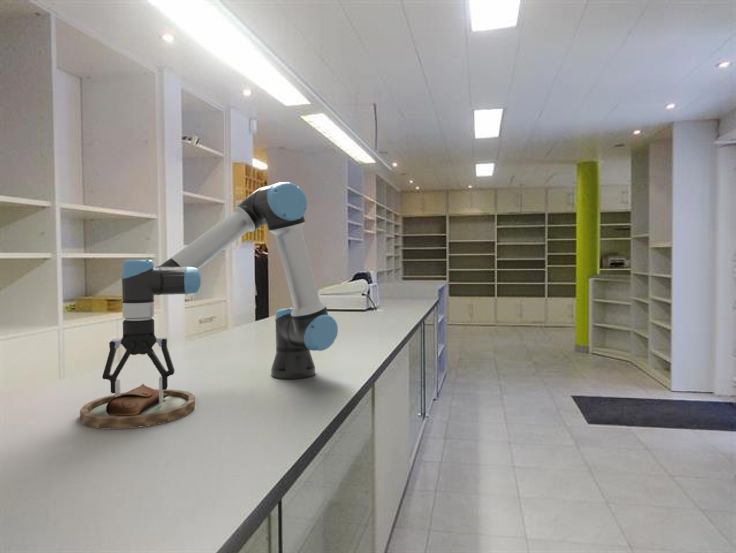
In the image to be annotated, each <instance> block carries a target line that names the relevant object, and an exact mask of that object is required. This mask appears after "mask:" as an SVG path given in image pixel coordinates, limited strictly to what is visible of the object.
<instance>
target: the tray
mask: <svg viewBox="0 0 736 553" xmlns="http://www.w3.org/2000/svg"><path fill="white" fill-rule="evenodd" d="M154 389H155V388H154ZM155 390H157V391H159V388H156V389H155ZM125 393H126V392H120V395H123V394H125ZM163 393H165V394H168V396H167V397H165V398H164V399H163V403H159V402H158V403H156V404H154V405H152V406H150V407H149V408H147V409H145V410H143V411H142V412H141V413H140V414H137V415H131V416H110V415H108V413H107V412H106V406H107V404H108V403H109V401H111V400H112V399H113V398H115V393H113V394H110V395H107V396H104V397H99V398H97V399H94V400H91V401H90V402H87V403H85V404H84V405H83V406H82V407H81V408H80V410H79V420H80V422H81V423H82V424H83V425H84V427H90V428H94V429H95V428H96V429H98V428H100V430H101V428H106V429H105V430H108V429H107V428H110V429H109V430H122V429H121V428H128V429H131V428H130V427H138V428H140V427H139V426H147V427H149V426H148V425H152V426H155V425H154V424H157V425H160V424H159V423H162V424H164V423H163V422H167V423H169V422H168V421H170V422H172V421H171V420H173V421H175V420H174V419H176V420H178V419H177V418H179V419H181V418H180V417H182V418H184V417H186V416H188V415H190V414H191V413H193V410H194V411H195V407H196V395H195V394H193V393H192V392H189V391H185V390H179V389H169V388H167V389H166V390H163ZM190 412H191V413H190ZM187 414H188V415H187ZM183 416H184V417H183ZM112 428H113V429H112Z"/></svg>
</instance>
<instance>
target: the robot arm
mask: <svg viewBox="0 0 736 553" xmlns="http://www.w3.org/2000/svg"><path fill="white" fill-rule="evenodd" d="M307 208H308V200H307V197H306V194H305V193H304V191H303V190H302V188H301V187H300V186H298V185H297V184H294V183H293V182H289V181H287V182H286V181H284V182H277V183H274V184H270V185H267V186H262V187H260V188H258V189H257V190H254V191H253V192H251V194H249V195H248V196H247V197H246V198H245V199H243V200H242V201H241V202H240V203H238V204H237V205H235V207H233V210H232V213H230V214H229V215H228V216H226V217H224V219H222V220H221V221H219V222H218V223H217V224H215V225H213V226H212V227H211V228H209V229H208V230H207V231H205V232H204V233H203V234H201V235H200V236H198V238H196V239H195V240H194V241H192V242H191V243H189V244H188V245H187V246H185V247H183V249H181V250H180V251H178V252H176V254H174V255H172V256H171V257H170V258H169V259H167V260H166V261H164V262H163V263H161V264H160V265H157V266H155V265H154V261H153V260H152V259H125V260H124V261H122V269H121V287H122V288H121V292H122V303H121V304H122V305H121V306H122V308H121V310H122V318H123V319H124V320H123V321H122V338H121V339H117V340H115V339H112V340H110V341H109V343H108V345H109V352H108V356H107V360H106V362H105V366H104V370H103V373H102V379H103V380H108V381H109V382H110V394H115V397H117V396H120V393H121V379H120V378H118V377H119V375H120V373H121V371H122V369H123V368H124V366H125V364H126V363H127V361H128V359H129V358H130V355H132V356H137V355H143V356H144V355H147V356H148V358H150V360H151V362H152V364H153V365H154V366H155V368H156V370H157V371H158V372H159V375H160V376H159V378H158V389H159V403H163V390H166V389H168V381H169V380H168V377H171V376H172V375H174V374H175V367H174V364H173V361H172V358H171V354H170V352H169V349H168V338H167V337H163V338H157V337H156V335H155V334H156V333H155V320H154V318H153V317H155V296H160V295H161V296H162V295H163V296H165V295H167V296H169V295H170V296H171V295H188V294H189V295H190V294H197V293H198V292H199V291H200V288H201V282H202V281H201V280H202V278H201V273H200V270H199V269H201V268H202V267H203V266H205V265H206V264H207V263H208V262H210V261H211V260H213V259H214V258H215V257H216V256H217V255H219V254H221V253H222V252H223V251H224V250H226V249H227V248H228V247H229V246H231V245H232V244H233V243H235V242H236V241H238V240H239V239H240V238H242V237H243V236H244V235H245V234H247V233H248V232H250V233H252V232H255V231H256V230H257V229H258V228H261V227H263V226H265V225H266V226H267V228H268V229H267V230H268V232H269V233H271V234H273V235H274V237H275V240H276V241H275V242H276V244H277V248H278V249H277V250H278V252H279V256H280V259H281V263H282V267H283V270H284V275H285V279H286V283H287V286H288V290H289V294H290V298H291V301H292V306H293V307H289V308H280V309H278V310H277V311H276V312H275V318H274V321H275V355H274V359H273V362H272V366H271V369H270V371H271V372H270V375H271V377H273V378H274V379H275V378H276V379H281V380H282V379H283V380H292V379H293V380H297V379H304V378H305V379H306V378H309V377H313V376H314V375H315V374H316V366H315V363H314V360H313V356H312V354H311V351H312V352H313V351H317V352H320V351H321V352H323V351H325V350H327V349H329V348H330V347H331V346H333V344H334V343H335V341H336V339H337V337H338V333H339V328H338V327H339V326H338V323H337V321H336V319H334V318H333V317H332V316H331V315H330V314H329V313H328V310H327V309H328V308H327V305H326V303H324V302H323V301H321V299H320V295H319V292H318V289H317V285H316V280H315V275H314V272H313V268H312V265H311V260H310V256H309V252H308V248H307V245H306V241H305V236H304V232H303V227H304V226H305V224H306V221H305V220H306V219H305V217H304V215H305V213H306V210H307ZM156 343H157V344H158V346H159V347H160V348H161V352H162V355H163V358H164V361H165V365H166V368H167V369H166V368H165V366H164V365H163V364H162V362H161V361H160V359H159V358H158V356H157V355H156V352H155V351H154V349H153V347H155V346H154V345H155V344H156ZM120 346H122V347H124V349H125V352H124V354H123V356H122V358H121V359H120V360H119V363H118V364H117V366H116V368H115V369H114V371H113V373H111V370H112V368H113V363H114V360H115V356H116V353H117V350H118V349H119V348H120Z"/></svg>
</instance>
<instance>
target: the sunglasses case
mask: <svg viewBox="0 0 736 553" xmlns="http://www.w3.org/2000/svg"><path fill="white" fill-rule="evenodd" d="M124 393H125V392H124ZM167 396H168V394H165V393H163V399H164V398H165V397H167ZM158 402H159V391H157V390H155V388H152V387H150V386H147V385H145V384H144V383H142V384H141V385H140V386H138V387H136V388H133V389H131V390H129V391H127V392H126V393H125V394H123V395H120V396H117V397H115V398H113V399H112V400H111V401H109V403H108V404H107V406H106V412H107V413H108V415H110V416H131V415H137V414H140V413H141V412H142V411H143V410H145V409H147V408H149V407H150V406H152V405H154V404H156V403H158Z"/></svg>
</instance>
